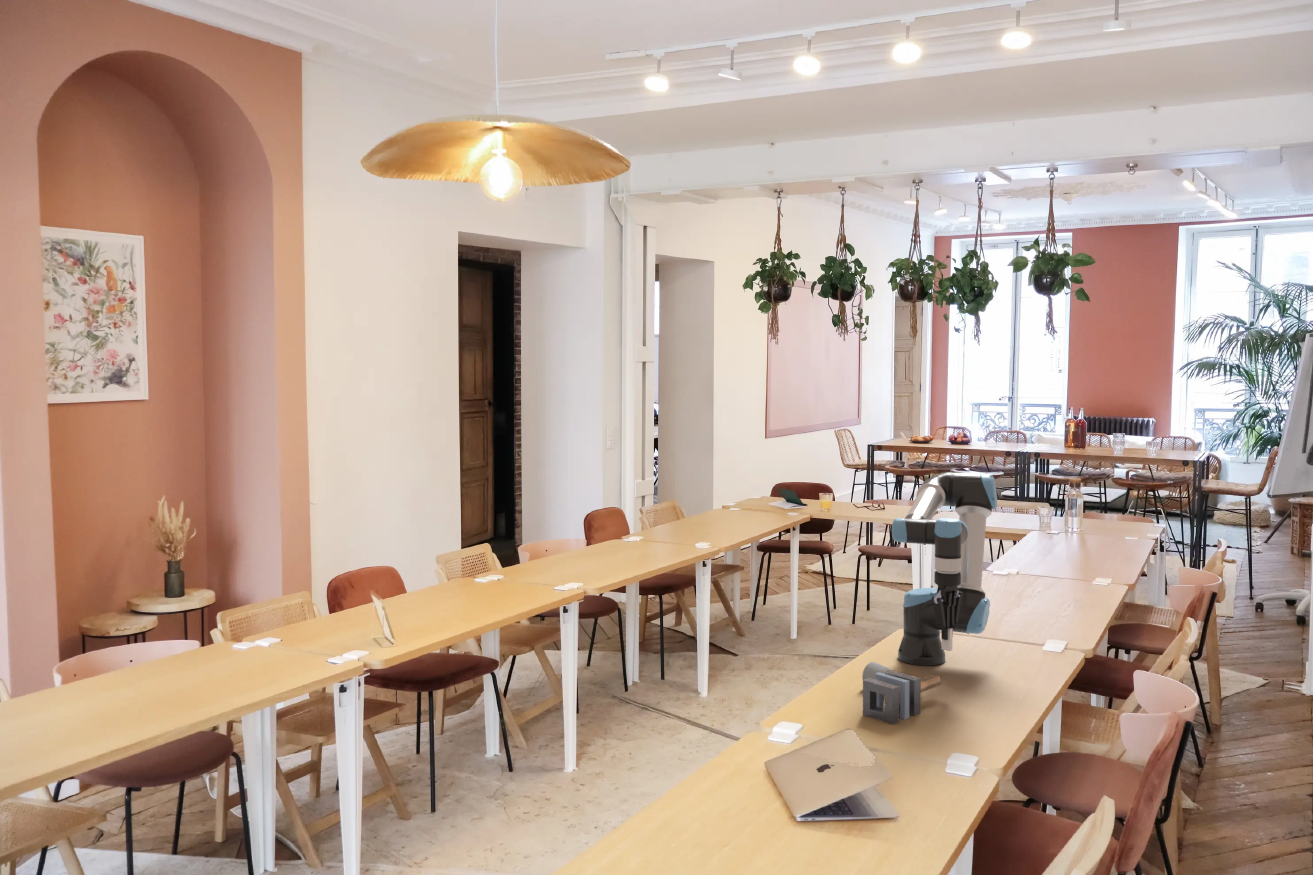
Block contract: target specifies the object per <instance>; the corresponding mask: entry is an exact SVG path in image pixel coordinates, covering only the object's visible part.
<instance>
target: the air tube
mask: <svg viewBox="0 0 1313 875" xmlns="http://www.w3.org/2000/svg"><path fill="white" fill-rule="evenodd" d="M920 678H921V693H923V692H927V691H929V690H931V689H934V688H937V687H940V685H941V683H942V682H941V678H940V676H939V674H936V673H932V674H930V675H927V676H924V677H920ZM899 701H900V686H899Z"/></svg>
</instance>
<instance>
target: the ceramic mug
mask: <svg viewBox="0 0 1313 875" xmlns="http://www.w3.org/2000/svg"><path fill="white" fill-rule="evenodd" d="M890 670H892V671H894V670H893V669H891V668H890V667H887V666H885V665H883V664H880V663H878V662H876V661H871V662H869V663H867V664H866V665H865V666H864V669H863V672H862V676H861V677H862V681H863V680H865V679H868V678H872V679H875V673H878V672H880V673H884V674H885V672H887V671H890Z"/></svg>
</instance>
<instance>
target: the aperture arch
mask: <svg viewBox="0 0 1313 875" xmlns="http://www.w3.org/2000/svg"><path fill="white" fill-rule="evenodd" d="M875 680H879V681H882V682H886V683H890V684H893V685H896V686H899V687H900V711H899V719H901V720H904V721H905V720H909V719H910V714H909V680H905V679H902V678H898V677H894V676H891V675H887V674H884V673H880V672H878V673H875ZM877 707H880V708H883V709H885V695H883V694H879V693H877Z"/></svg>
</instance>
